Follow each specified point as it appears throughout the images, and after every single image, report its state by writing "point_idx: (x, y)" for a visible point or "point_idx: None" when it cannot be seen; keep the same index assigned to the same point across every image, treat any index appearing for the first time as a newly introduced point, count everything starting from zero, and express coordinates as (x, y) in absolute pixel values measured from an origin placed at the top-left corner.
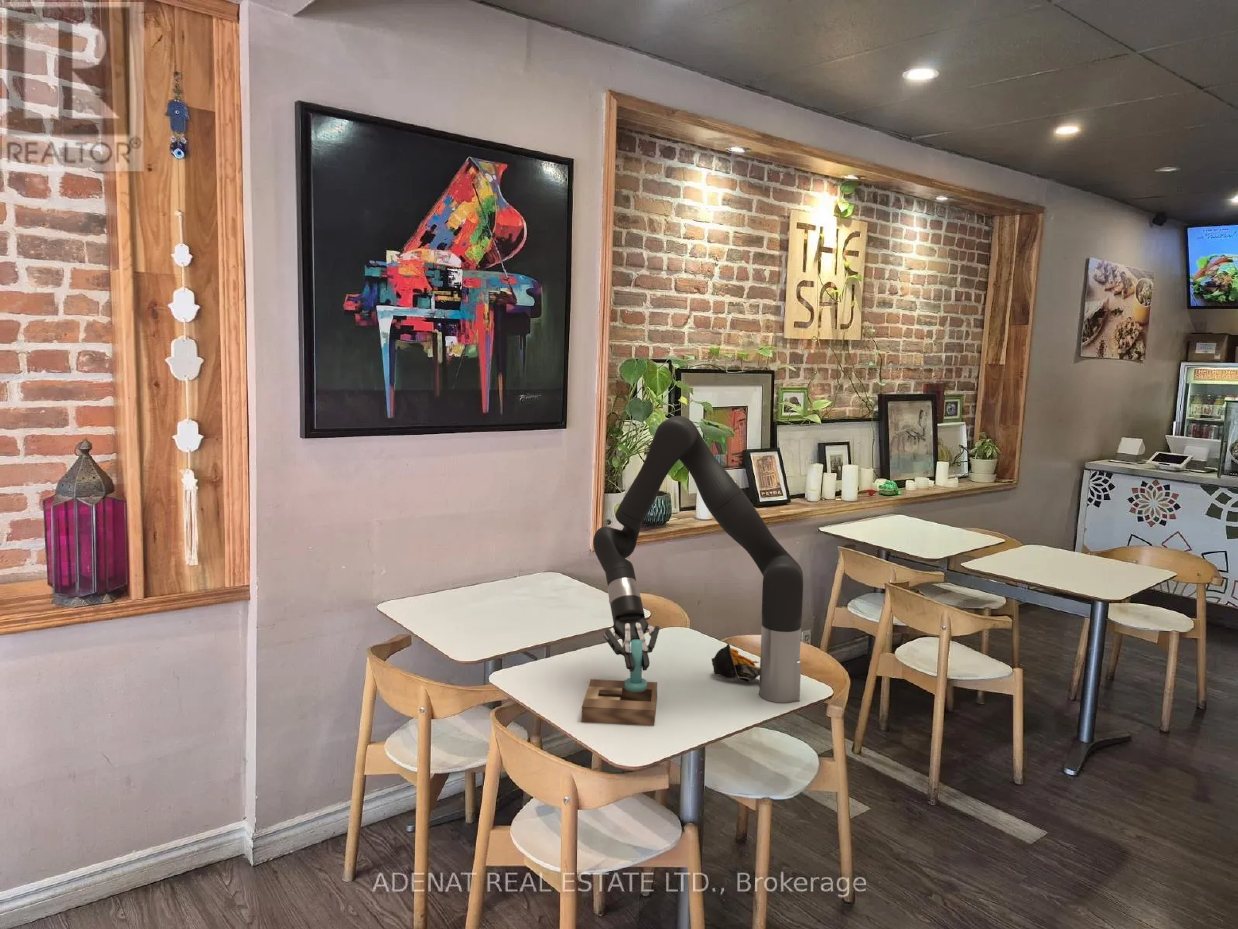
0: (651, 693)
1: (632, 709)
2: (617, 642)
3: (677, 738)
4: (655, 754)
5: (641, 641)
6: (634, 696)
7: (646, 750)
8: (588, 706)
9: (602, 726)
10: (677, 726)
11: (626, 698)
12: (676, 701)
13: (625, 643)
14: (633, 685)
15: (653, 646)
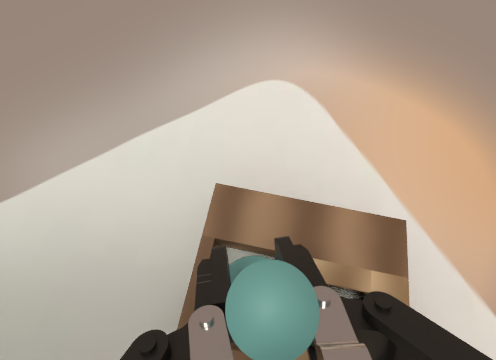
0: None
1: (272, 194)
2: (422, 340)
3: (183, 138)
4: (239, 90)
5: (235, 300)
6: None
7: (252, 103)
8: (388, 219)
9: (334, 203)
10: (167, 189)
11: None
12: (119, 348)
13: (354, 341)
14: (267, 259)
15: (140, 343)
